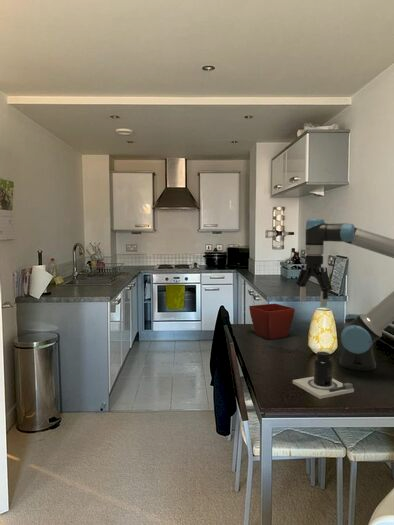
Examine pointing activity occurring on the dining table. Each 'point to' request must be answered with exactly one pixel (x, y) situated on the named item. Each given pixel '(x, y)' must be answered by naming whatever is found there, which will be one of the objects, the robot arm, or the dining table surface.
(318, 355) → the supplement bottle
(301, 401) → the dining table surface
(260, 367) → the dining table surface
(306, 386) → the record player
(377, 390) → the dining table surface
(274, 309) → the plant pot
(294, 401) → the dining table surface
